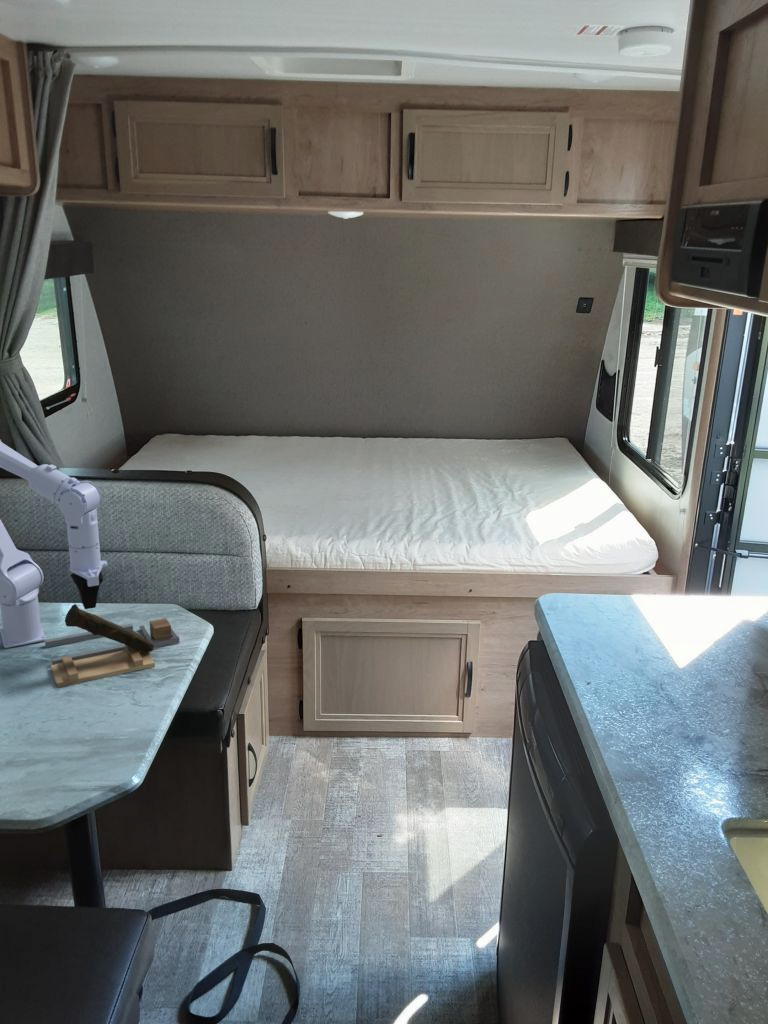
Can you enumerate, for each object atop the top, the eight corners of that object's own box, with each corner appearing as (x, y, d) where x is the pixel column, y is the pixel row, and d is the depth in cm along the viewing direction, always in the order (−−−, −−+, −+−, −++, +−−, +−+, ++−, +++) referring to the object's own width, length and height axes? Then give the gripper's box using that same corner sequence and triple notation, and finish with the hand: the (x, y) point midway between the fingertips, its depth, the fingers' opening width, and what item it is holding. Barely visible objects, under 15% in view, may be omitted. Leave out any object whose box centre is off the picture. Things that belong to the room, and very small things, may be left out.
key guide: (139, 629, 173) (139, 624, 173) (166, 624, 176) (166, 619, 176) (151, 648, 165) (151, 643, 165) (179, 642, 168) (179, 637, 167)
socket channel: (45, 645, 165) (44, 640, 165) (131, 628, 173) (131, 623, 173) (53, 666, 156) (52, 661, 156) (143, 648, 165) (143, 643, 165)
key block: (150, 636, 170) (149, 621, 169) (166, 633, 172) (165, 618, 171) (155, 643, 167) (154, 628, 166) (171, 640, 168) (170, 625, 167)
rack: (50, 669, 156) (49, 659, 155) (144, 649, 164) (144, 641, 164) (57, 687, 149) (56, 677, 148) (154, 666, 158) (154, 657, 157)
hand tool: (60, 619, 153) (66, 628, 150) (72, 601, 154) (78, 610, 150) (142, 654, 165) (149, 664, 161) (153, 638, 165) (160, 647, 161)
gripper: (112, 552, 154) (117, 616, 158) (97, 530, 166) (102, 591, 170) (74, 557, 151) (80, 623, 155) (61, 535, 163) (67, 597, 167)
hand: (89, 607), depth 162 cm, fingers closed
